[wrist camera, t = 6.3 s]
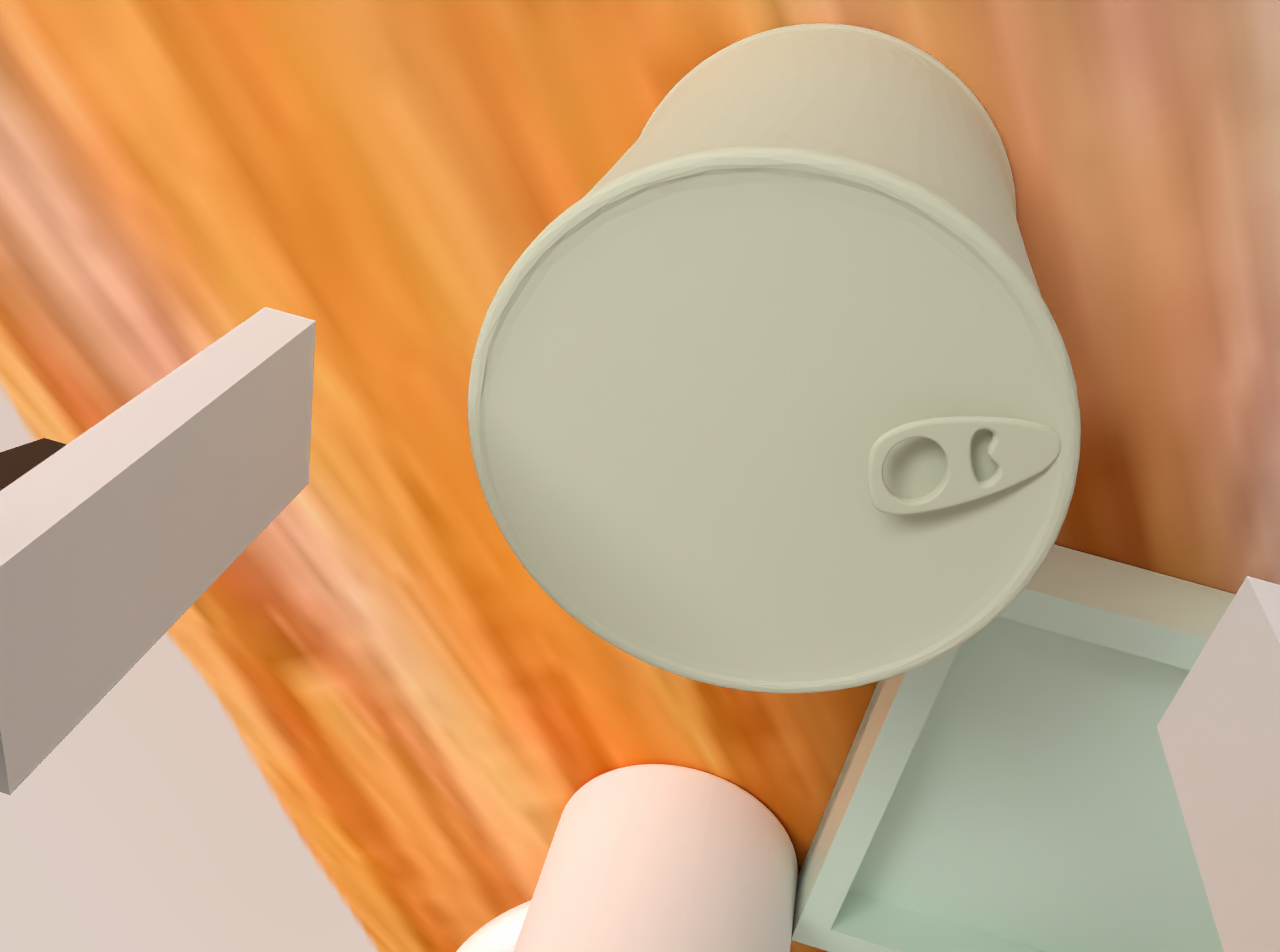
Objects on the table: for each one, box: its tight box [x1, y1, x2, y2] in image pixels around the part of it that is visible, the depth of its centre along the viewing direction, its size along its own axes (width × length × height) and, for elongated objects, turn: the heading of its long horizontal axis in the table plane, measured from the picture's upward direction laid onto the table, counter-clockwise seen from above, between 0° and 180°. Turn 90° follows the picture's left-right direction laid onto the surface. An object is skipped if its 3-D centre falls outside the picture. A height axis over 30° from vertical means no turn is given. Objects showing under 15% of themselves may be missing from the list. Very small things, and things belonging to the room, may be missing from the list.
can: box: [468, 23, 1081, 694], centre depth 21 cm, size 9×9×12 cm
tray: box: [791, 544, 1236, 952], centre depth 31 cm, size 15×15×2 cm
